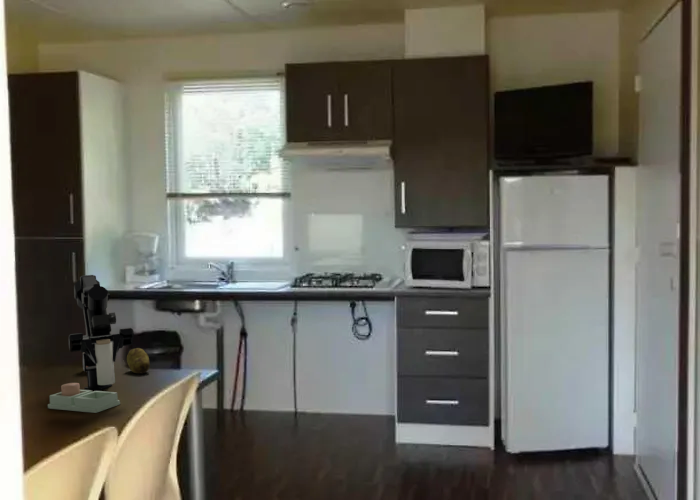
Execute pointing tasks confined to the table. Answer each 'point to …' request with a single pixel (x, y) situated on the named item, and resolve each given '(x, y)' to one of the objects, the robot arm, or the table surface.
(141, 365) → the potato
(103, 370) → the spice jar
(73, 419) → the table surface
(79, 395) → the spice stand
